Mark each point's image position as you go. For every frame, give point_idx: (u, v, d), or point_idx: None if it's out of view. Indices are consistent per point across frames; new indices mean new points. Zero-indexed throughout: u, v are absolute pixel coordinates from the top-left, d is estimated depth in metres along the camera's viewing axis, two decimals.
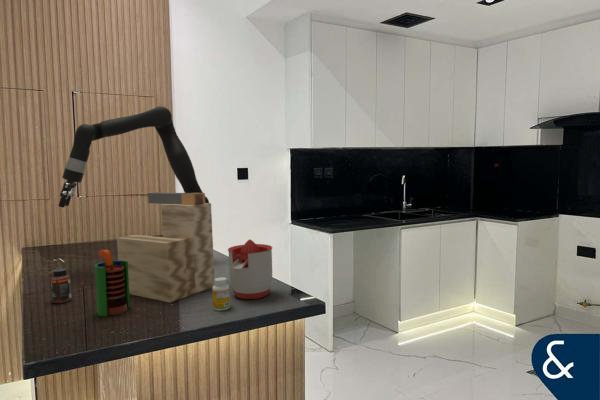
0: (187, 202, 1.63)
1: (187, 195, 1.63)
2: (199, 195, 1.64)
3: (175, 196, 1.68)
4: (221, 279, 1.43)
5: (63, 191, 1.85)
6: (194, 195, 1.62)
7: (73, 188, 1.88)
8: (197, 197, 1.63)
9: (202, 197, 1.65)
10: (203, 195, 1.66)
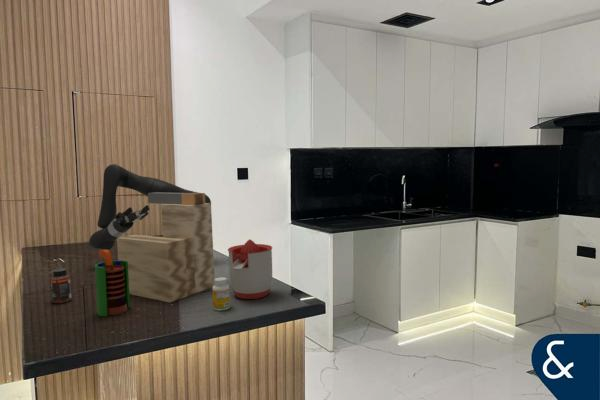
0: (187, 202, 1.63)
1: (187, 195, 1.63)
2: (199, 195, 1.64)
3: (175, 196, 1.68)
4: (221, 279, 1.43)
5: (124, 218, 1.88)
6: (194, 195, 1.62)
7: None
8: (197, 197, 1.63)
9: (202, 197, 1.65)
10: (203, 195, 1.66)
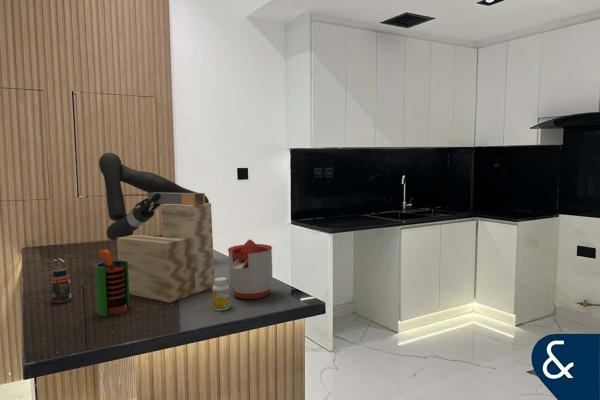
0: (187, 202, 1.63)
1: (187, 195, 1.63)
2: (199, 195, 1.64)
3: (175, 196, 1.68)
4: (221, 279, 1.43)
5: (149, 205, 1.75)
6: (194, 195, 1.62)
7: None
8: (197, 197, 1.63)
9: (202, 197, 1.65)
10: (203, 195, 1.66)
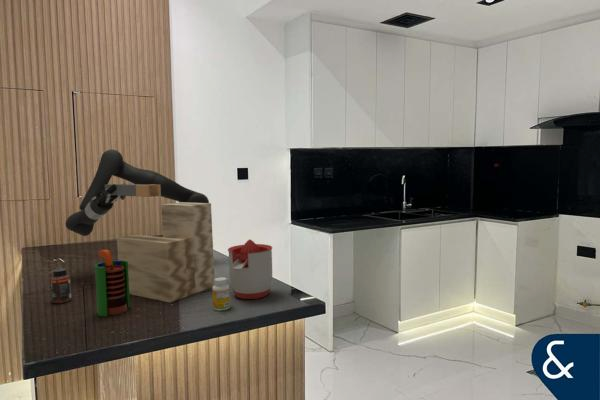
0: (142, 193, 1.58)
1: (141, 186, 1.58)
2: (154, 186, 1.59)
3: (130, 187, 1.63)
4: (221, 279, 1.43)
5: (106, 197, 1.70)
6: (148, 186, 1.57)
7: None
8: (151, 188, 1.58)
9: (157, 189, 1.60)
10: (158, 187, 1.61)
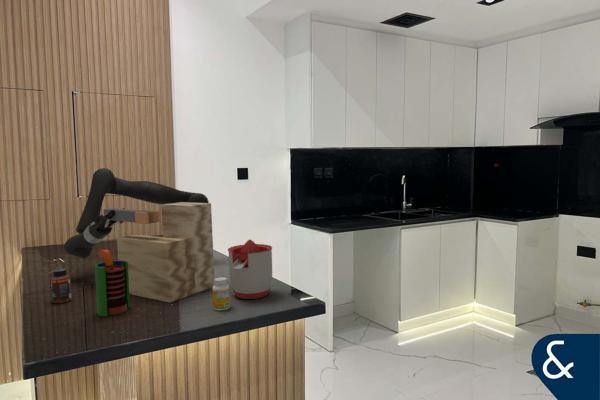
0: (141, 220, 1.58)
1: (140, 213, 1.58)
2: (153, 213, 1.59)
3: (129, 213, 1.62)
4: (221, 279, 1.43)
5: (105, 222, 1.70)
6: (147, 214, 1.57)
7: None
8: (151, 215, 1.58)
9: (156, 215, 1.60)
10: (158, 213, 1.61)
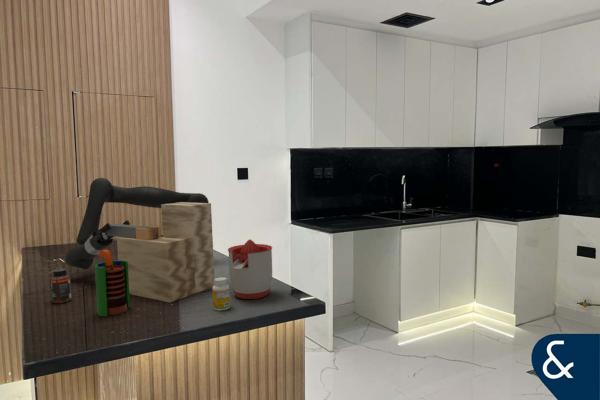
0: (142, 237, 1.58)
1: (141, 230, 1.58)
2: (154, 229, 1.59)
3: (130, 229, 1.63)
4: (221, 279, 1.43)
5: (102, 235, 1.70)
6: (148, 230, 1.57)
7: None
8: (152, 232, 1.59)
9: (157, 231, 1.61)
10: (158, 229, 1.61)
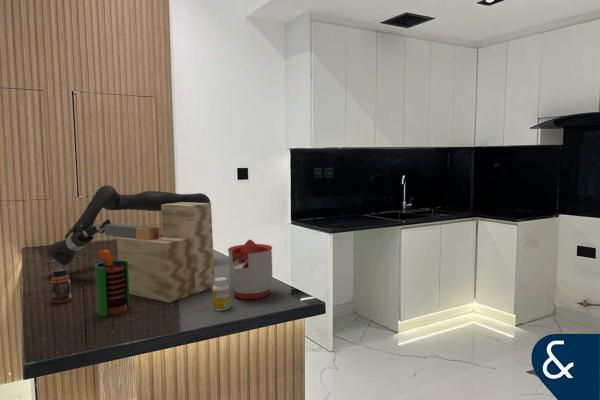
0: (142, 237, 1.58)
1: (141, 230, 1.58)
2: (154, 229, 1.59)
3: (130, 229, 1.63)
4: (221, 279, 1.43)
5: (82, 232, 1.77)
6: (148, 230, 1.57)
7: None
8: (152, 232, 1.59)
9: (157, 231, 1.61)
10: (158, 229, 1.61)
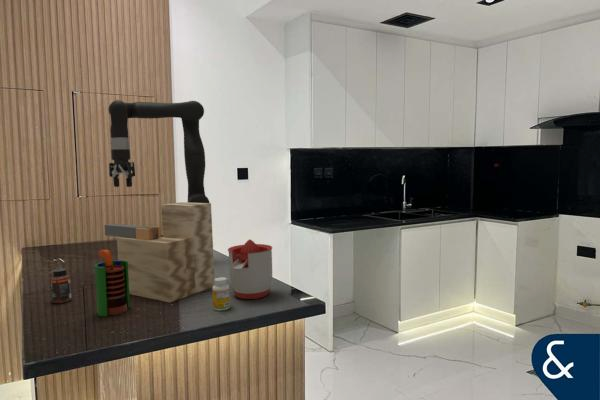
0: (142, 237, 1.58)
1: (141, 230, 1.58)
2: (154, 229, 1.59)
3: (130, 229, 1.63)
4: (221, 279, 1.43)
5: (125, 171, 1.87)
6: (148, 230, 1.57)
7: None
8: (152, 232, 1.59)
9: (157, 231, 1.61)
10: (158, 229, 1.61)
